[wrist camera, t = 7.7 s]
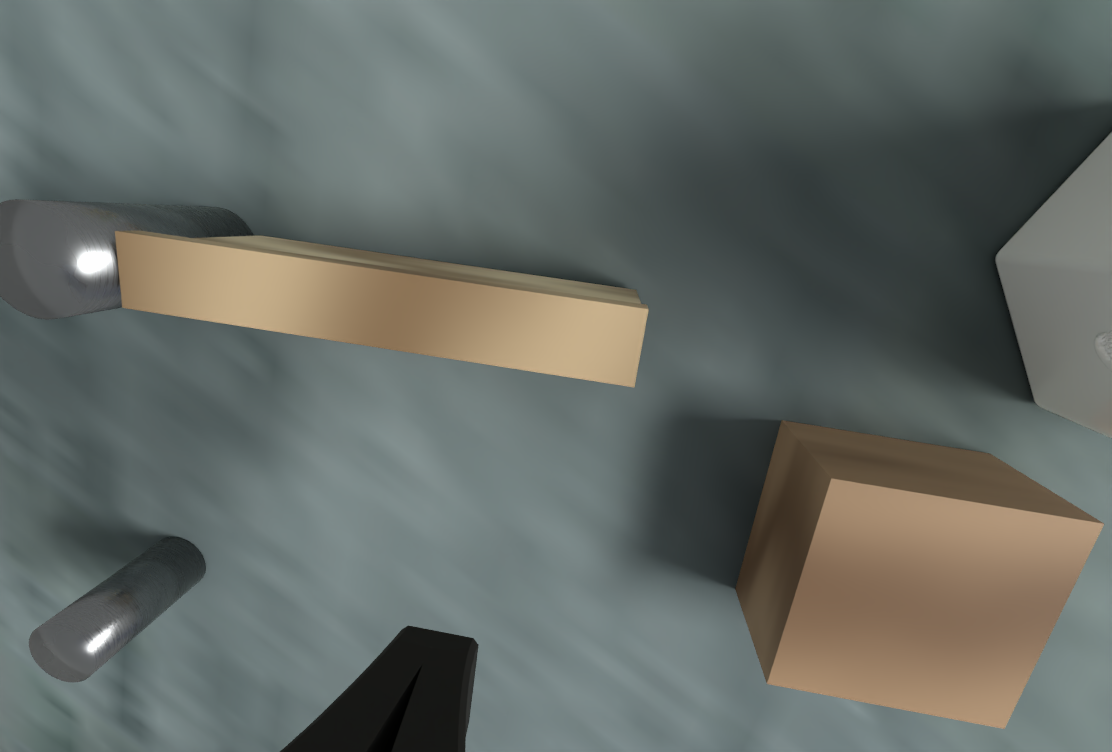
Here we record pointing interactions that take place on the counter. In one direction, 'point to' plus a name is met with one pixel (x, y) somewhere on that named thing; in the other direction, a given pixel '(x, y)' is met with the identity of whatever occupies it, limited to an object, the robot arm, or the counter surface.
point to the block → (906, 572)
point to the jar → (1067, 295)
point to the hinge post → (85, 249)
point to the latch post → (116, 610)
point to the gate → (388, 302)
